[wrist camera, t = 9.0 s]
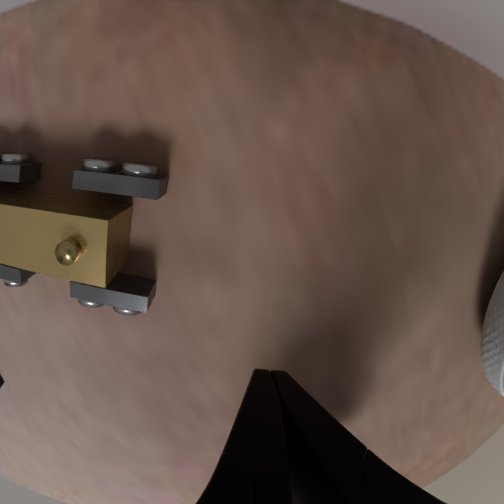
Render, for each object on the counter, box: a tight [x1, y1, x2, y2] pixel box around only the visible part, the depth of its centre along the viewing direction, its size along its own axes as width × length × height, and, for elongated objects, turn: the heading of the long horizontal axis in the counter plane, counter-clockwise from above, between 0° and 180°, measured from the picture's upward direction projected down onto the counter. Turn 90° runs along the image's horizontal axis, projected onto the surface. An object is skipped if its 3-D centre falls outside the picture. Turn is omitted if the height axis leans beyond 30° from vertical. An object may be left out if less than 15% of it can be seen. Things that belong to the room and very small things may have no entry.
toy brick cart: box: [0, 152, 169, 315], centre depth 16 cm, size 9×15×3 cm, turn 79°
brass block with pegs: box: [0, 188, 133, 288], centre depth 15 cm, size 4×12×5 cm, turn 79°
